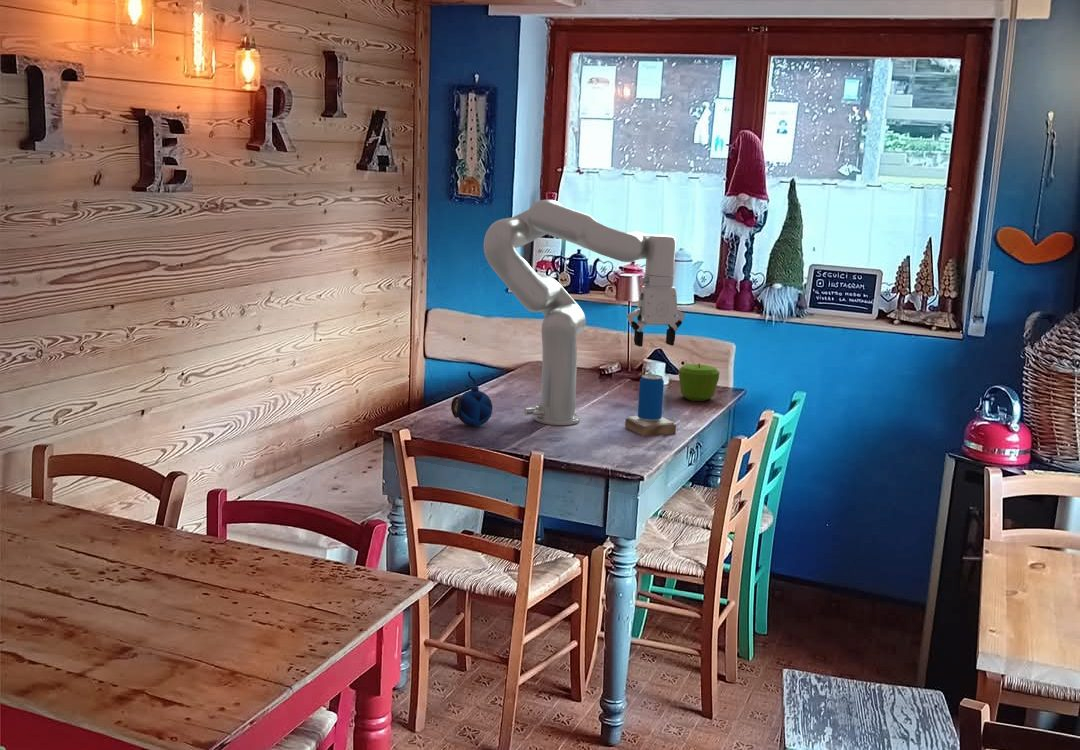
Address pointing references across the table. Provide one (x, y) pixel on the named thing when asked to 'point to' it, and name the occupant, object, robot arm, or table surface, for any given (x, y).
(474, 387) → the bomb
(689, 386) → the apple
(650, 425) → the pedestal
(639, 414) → the beverage can
